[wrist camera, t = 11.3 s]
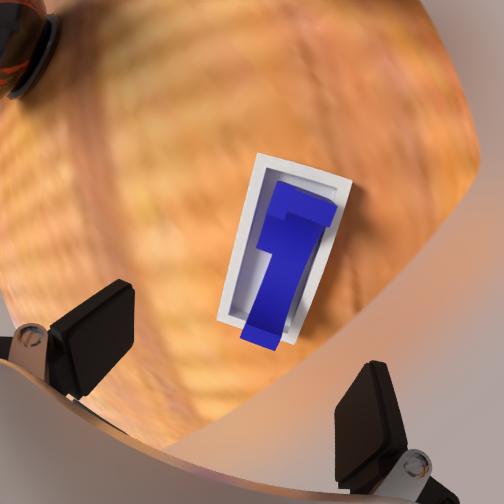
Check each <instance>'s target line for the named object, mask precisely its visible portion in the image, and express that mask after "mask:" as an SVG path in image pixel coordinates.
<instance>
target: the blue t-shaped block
mask: <svg viewBox="0 0 504 504" xmlns="http://www.w3.org/2000/svg"><path fill="white" fill-rule="evenodd" d="M337 208H338V206H337V205H336V204H335V203H333V202H332V201H331V200H330V199H328V198H326V197H323V196H321V195H318V194H316V193H313V192H310V191H308V190H305V189H302V188H300V187H297V186H294V185H291V184H289V183H286V182H283V181H277V183H276V186H275V189H274V192H273V194H272V197H271V200H270V203H269V206H268V209H267V212H266V215H265V220H264V223H263V227H262V230H261V234H260V237H259V240H258V243H257V246H256V248H257V249H259V250H262V251H265V252H267V253H270V254H272V256H271V259H270V262H269V264H268V267H267V270H266V272H265V275H264V278H263V280H262V283H261V285H260V288H259V290H258V293H257V296H256V298H255V301H254V303H253V306H252V308H251V311H250V313H249V316H248V318H247V320H246V323H245V325H244V328H243V331H242V333H241V336H240V338H241V339H243V340H246V341H249V342H251V343H254V344H257V345H260V346H262V347H265V348H268V349H271V350H273V351H275V350H276V348H277V346H278V344H279V342H280V340H281V338H282V334H283V329H284V325H285V322H286V318H287V315H288V312H289V309H290V306H291V303H292V300H293V297H294V294H295V291H296V289H297V286H298V283H299V281H300V278H301V276H302V273H303V271H304V268H305V266H306V264H307V261H308V259H309V257H310V254H311V252H312V250H313V248H314V246H315V244H316V242H317V240H318V238H319V236H320V235H321V233H322V232H323V230H324V229H325V228H326V227H329V228H330V226H331V223H332V221H333V218H334V215H335V213H336V210H337Z"/></svg>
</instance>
